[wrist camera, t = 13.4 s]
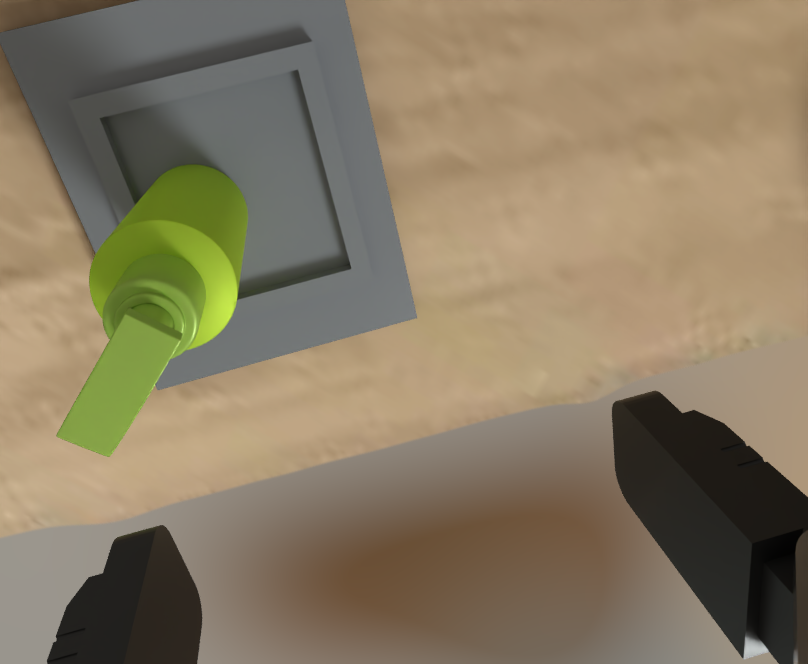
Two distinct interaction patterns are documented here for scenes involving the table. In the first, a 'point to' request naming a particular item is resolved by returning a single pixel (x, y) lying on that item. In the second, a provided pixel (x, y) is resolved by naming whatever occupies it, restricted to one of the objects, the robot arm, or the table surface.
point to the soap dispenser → (159, 294)
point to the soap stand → (230, 153)
